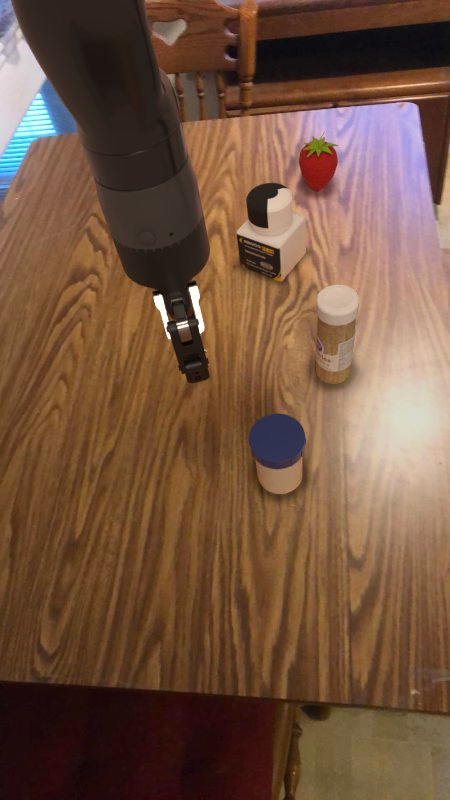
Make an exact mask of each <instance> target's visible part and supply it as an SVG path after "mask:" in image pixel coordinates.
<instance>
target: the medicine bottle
mask: <svg viewBox="0 0 450 800" xmlns="http://www.w3.org/2000/svg"><path fill="white" fill-rule="evenodd" d="M245 202H246V203H245V204H246V211H247V219H246V220H245V221H244V223H243V224H242V225H241V226H240V227H239V228H238V229H237V230H236V232H235V233H236V234H235V235H236V242H237V249H238V250H237V251H238V257H239V264H240V265H239V266H240V267H241V268H243V269H246V270H248V271H252V272H254V273H256V274H259V275H262V276H264V277H267V278H269V279H271V280H275V281H277V282H283V281H284V280H285V279H286V277H287V276H288V275H289V274H290V273H291V271H293V269H294V268H295V266H296V265H297V264H298V263H299V262H300V261H301V259H302V258H303V257H304V256H305V254H306V253H307V218H306V216H304V215H302V214H300V213H296V212H294V211H293V210H294V209H293V207H294V206H293V193H292V191H291V189H289V188H288V187H287V186H286V185H284V184H281V183H279V182H265V183H260V184H259V185H256V186H255V187H253V188H252V189H251V190H249V192H248V193H247V195H246V198H245Z"/></svg>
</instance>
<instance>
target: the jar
mask: <svg viewBox="0 0 450 800" xmlns="http://www.w3.org/2000/svg"><path fill="white" fill-rule="evenodd" d="M303 460H304V459H303V457H301V459H300V460H299V461H298V462H297V463H295V464H294V465H292V466H290V467H288V468H285V469H278V470H277V469H270V468H267V467H264V466H262V465H261V464H259V463H258V462H257V461H256V460H255V459H254V462H255V468H256V474H257V479H258V482H259V484H260V486H262V488H263V489H265V490H266V491H268V492H269V493H271V494H276V495H284V494H288V493H291V492H293V491H294V490H296V489H297V488H298V487H299V485H300V484H301V482H302V480H303V474H304V469H303V468H304V467H303V464H304V463H303Z"/></svg>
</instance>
